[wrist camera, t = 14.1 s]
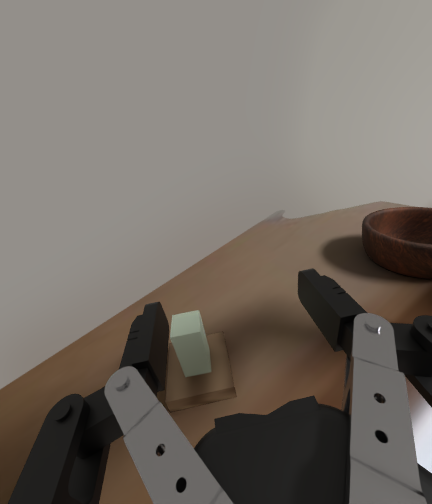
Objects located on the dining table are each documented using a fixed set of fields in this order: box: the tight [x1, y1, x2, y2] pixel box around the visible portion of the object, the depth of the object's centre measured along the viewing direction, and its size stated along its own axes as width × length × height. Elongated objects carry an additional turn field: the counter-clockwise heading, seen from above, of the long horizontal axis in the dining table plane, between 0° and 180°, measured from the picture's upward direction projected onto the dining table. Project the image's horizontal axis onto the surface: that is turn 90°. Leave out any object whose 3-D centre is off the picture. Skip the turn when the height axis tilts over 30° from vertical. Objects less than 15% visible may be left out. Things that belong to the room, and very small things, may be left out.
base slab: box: [165, 332, 236, 412], centre depth 39 cm, size 11×11×3 cm
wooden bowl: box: [362, 207, 432, 279], centre depth 56 cm, size 25×25×10 cm
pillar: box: [170, 310, 211, 377], centre depth 36 cm, size 4×4×10 cm
